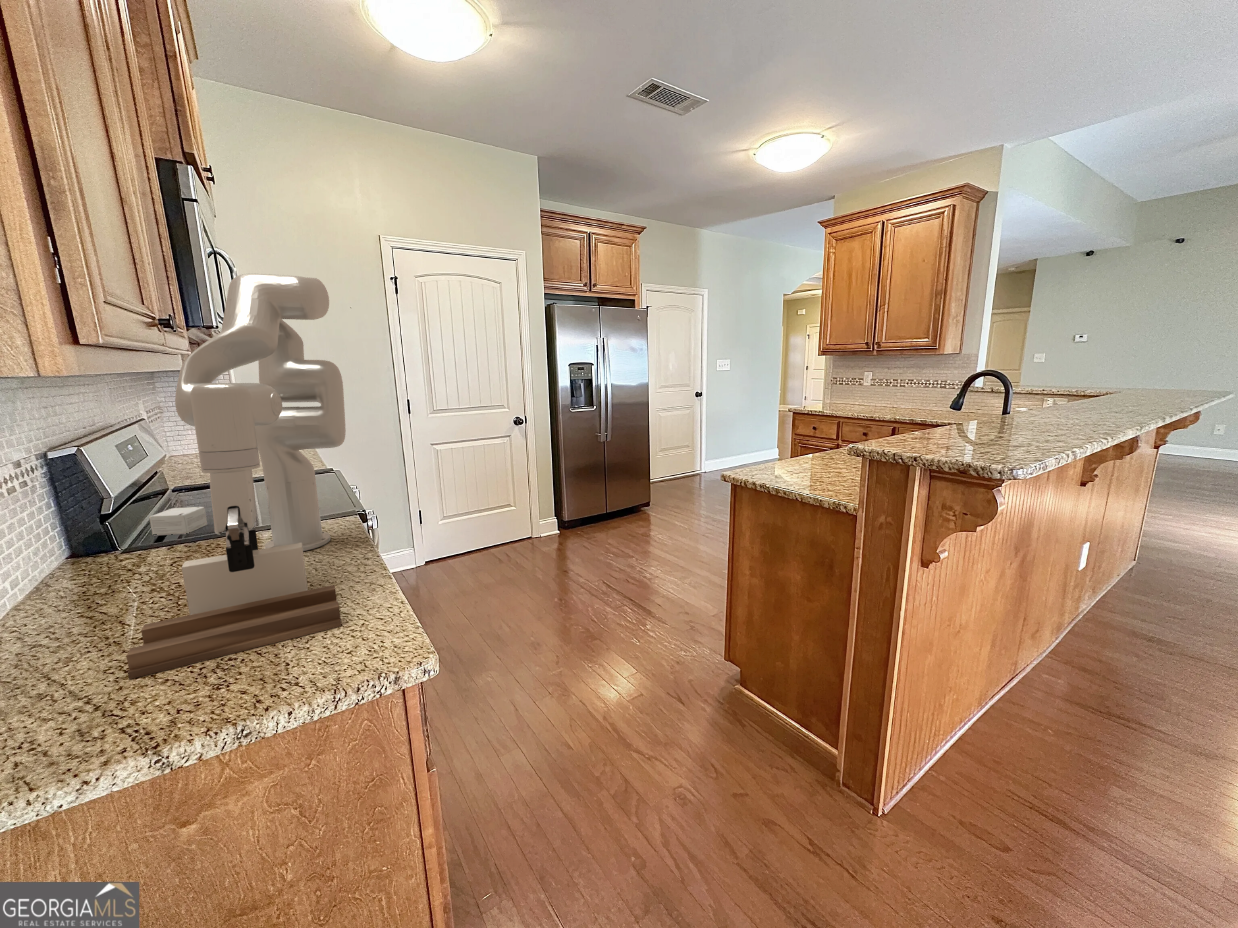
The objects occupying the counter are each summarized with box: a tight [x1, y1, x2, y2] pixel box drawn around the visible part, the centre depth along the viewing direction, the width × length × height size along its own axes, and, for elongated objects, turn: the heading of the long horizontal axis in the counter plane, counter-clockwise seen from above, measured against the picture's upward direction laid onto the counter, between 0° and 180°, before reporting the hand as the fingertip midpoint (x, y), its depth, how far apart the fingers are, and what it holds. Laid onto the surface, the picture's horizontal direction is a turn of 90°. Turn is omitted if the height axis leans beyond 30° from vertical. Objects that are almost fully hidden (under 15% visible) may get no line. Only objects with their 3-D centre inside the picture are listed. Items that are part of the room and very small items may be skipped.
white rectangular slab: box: [181, 543, 309, 615], centre depth 83 cm, size 3×16×9 cm, turn 124°
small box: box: [148, 506, 208, 536], centre depth 122 cm, size 8×8×5 cm
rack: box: [126, 584, 342, 680], centre depth 73 cm, size 11×24×3 cm, turn 124°
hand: (244, 561), depth 81 cm, fingers open, 9 cm apart
